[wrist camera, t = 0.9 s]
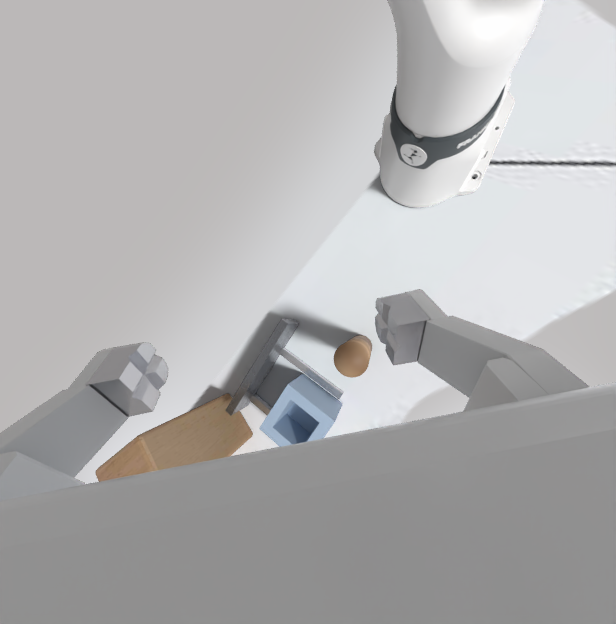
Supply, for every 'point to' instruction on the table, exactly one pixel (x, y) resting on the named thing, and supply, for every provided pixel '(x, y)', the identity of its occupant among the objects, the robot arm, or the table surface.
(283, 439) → the blue hollow square block
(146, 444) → the wooden block
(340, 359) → the dowel
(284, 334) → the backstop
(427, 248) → the table surface
